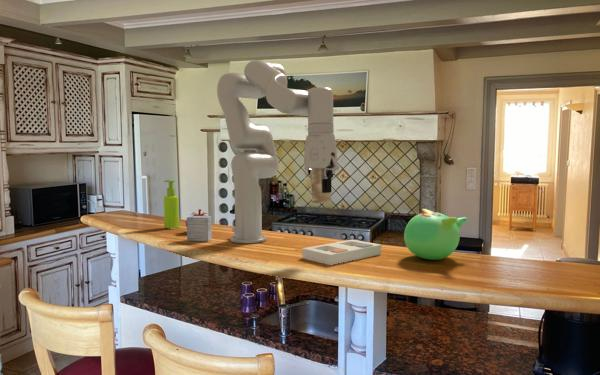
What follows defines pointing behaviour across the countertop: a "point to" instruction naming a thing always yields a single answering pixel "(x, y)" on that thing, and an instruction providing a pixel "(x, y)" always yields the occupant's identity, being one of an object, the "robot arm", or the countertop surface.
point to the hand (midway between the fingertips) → (321, 191)
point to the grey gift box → (199, 228)
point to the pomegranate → (197, 215)
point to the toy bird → (433, 234)
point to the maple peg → (319, 187)
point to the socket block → (341, 251)
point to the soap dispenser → (171, 207)
